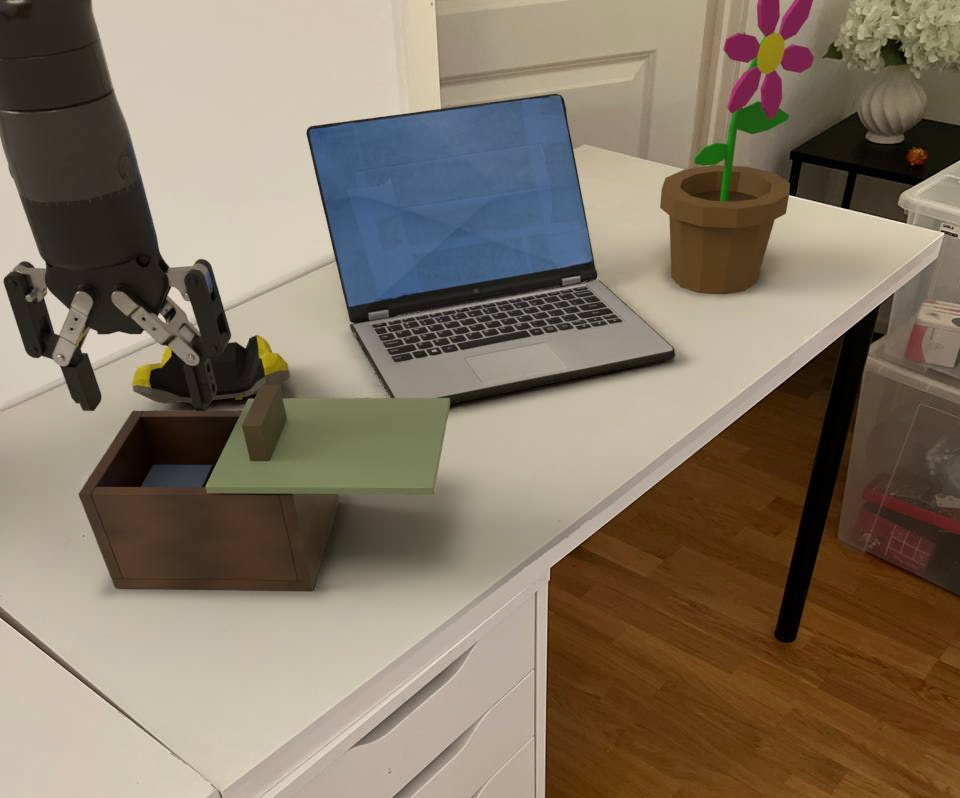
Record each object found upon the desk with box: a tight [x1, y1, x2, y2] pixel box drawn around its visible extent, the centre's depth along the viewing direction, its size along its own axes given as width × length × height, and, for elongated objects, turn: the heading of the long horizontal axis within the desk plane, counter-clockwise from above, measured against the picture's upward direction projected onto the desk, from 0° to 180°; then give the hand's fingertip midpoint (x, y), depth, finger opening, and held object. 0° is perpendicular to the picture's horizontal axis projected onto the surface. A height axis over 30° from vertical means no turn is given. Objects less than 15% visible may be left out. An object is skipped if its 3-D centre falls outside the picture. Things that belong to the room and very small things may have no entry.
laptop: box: [305, 93, 676, 405], centre depth 102 cm, size 30×32×18 cm
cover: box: [205, 385, 451, 495], centre depth 72 cm, size 16×13×4 cm
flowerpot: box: [659, 0, 815, 295], centre depth 105 cm, size 14×14×30 cm
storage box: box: [78, 409, 340, 592], centre depth 77 cm, size 16×12×9 cm
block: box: [141, 465, 214, 487], centre depth 78 cm, size 5×5×5 cm
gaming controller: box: [131, 333, 291, 407], centre depth 97 cm, size 15×6×10 cm
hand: (148, 405), depth 72 cm, fingers open, 8 cm apart
